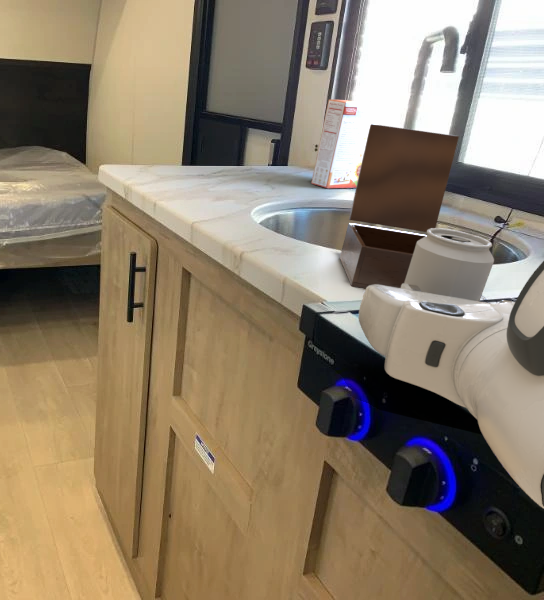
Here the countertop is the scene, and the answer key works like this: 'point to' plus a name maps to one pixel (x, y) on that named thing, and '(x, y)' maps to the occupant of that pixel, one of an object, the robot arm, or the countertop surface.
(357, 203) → the lid
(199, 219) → the countertop surface
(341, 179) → the cracker box
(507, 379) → the robot arm
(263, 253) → the countertop surface
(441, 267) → the can
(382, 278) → the chest
